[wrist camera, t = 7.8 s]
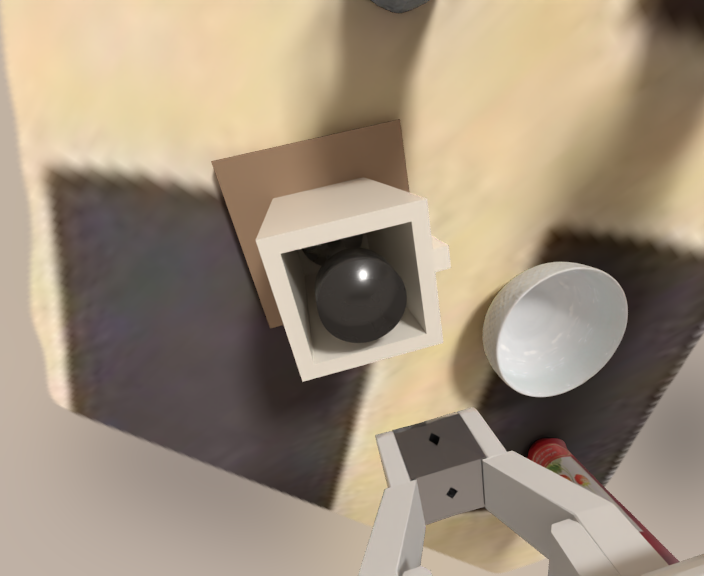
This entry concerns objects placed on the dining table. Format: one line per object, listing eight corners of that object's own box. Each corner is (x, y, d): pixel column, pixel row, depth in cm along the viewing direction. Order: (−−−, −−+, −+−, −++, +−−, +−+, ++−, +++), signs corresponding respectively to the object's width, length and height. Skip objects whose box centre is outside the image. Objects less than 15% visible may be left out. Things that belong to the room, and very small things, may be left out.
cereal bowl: (595, 322, 47) (643, 349, 41) (494, 384, 49) (525, 420, 42) (561, 223, 41) (612, 237, 34) (444, 298, 42) (473, 325, 35)
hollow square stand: (395, 120, 33) (502, 87, 16) (417, 283, 40) (508, 378, 23) (214, 161, 32) (127, 170, 15) (271, 322, 39) (255, 451, 22)
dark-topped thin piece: (354, 195, 33) (410, 233, 17) (366, 256, 35) (424, 337, 20) (290, 211, 32) (289, 264, 17) (307, 271, 35) (320, 365, 19)
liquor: (545, 424, 54) (778, 673, 28) (569, 442, 56) (802, 684, 31) (512, 454, 55) (705, 718, 29) (537, 470, 57) (734, 725, 32)
